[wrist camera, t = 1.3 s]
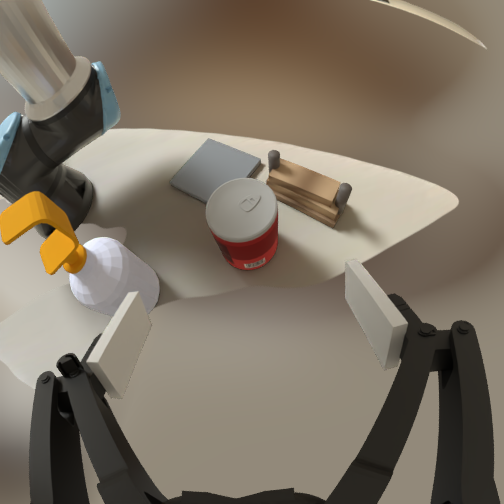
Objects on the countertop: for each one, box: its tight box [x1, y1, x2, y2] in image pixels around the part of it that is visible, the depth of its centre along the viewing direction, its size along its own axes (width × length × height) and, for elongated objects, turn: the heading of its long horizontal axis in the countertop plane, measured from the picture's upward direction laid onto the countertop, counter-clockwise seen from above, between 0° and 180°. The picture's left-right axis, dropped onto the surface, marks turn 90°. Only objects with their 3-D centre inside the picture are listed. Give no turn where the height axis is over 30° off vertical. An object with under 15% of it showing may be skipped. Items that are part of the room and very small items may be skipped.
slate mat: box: [170, 138, 261, 204], centre depth 44 cm, size 11×11×1 cm
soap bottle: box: [0, 191, 160, 316], centre depth 27 cm, size 9×9×25 cm
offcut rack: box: [266, 150, 352, 228], centre depth 38 cm, size 12×5×7 cm, turn 57°
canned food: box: [205, 178, 278, 270], centre depth 34 cm, size 8×8×11 cm
